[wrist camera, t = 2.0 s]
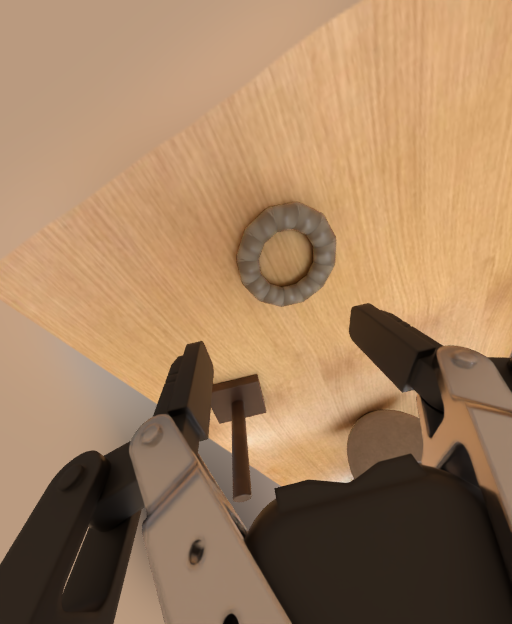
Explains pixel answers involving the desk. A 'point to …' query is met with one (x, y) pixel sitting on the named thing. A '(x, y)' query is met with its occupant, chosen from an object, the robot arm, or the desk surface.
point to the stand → (238, 424)
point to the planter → (383, 439)
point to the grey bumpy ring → (268, 226)
